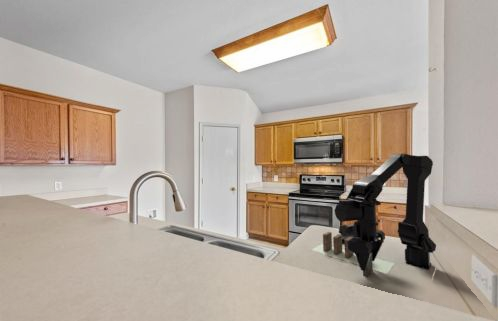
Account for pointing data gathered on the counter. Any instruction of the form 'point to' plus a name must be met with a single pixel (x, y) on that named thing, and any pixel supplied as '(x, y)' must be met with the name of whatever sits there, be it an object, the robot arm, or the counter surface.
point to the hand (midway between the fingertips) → (367, 265)
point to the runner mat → (377, 263)
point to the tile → (368, 268)
